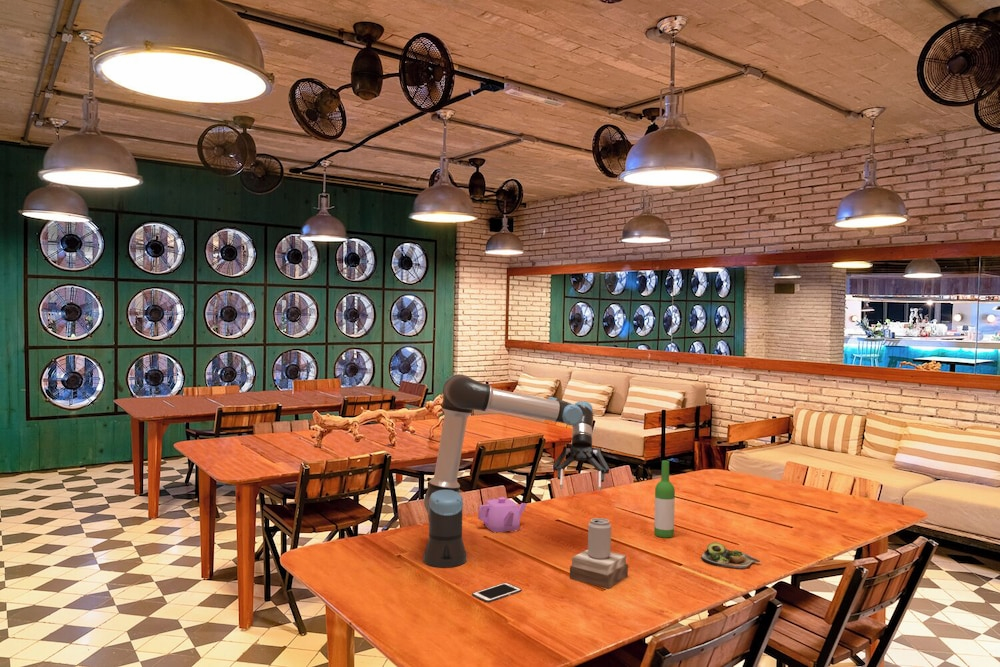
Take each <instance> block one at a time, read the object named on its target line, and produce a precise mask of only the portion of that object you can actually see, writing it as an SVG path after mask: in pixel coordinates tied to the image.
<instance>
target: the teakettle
mask: <svg viewBox="0 0 1000 667" xmlns="http://www.w3.org/2000/svg"><path fill="white" fill-rule="evenodd" d="M527 505H528V504H527V503H525V502H521V503H520V505H518V504H517V503H516V502H515V501H514V500H511V499H510V498H506V497H503V496H499V497H498V498H490V499H487V500H486V501H485V504H481V505H479V506H478V516H477V519H478V520H479V521H482V522H483V525H484V524H485V525H484V527H485V528H486V527H487V528H488V530H489V529H490V530H491V531H490V530H489V531H490V532H492V531H493V533H494V532H502V533H506V532H505V531H513V532H516V531H515V530H518V531H519V530H520V528H521V527H520V525H521V519H520V518H521V517H522V515H523V512H524V511H525V509H526V507H527ZM487 528H486V529H487Z"/></svg>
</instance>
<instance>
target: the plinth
mask: <svg viewBox="0 0 1000 667" xmlns="http://www.w3.org/2000/svg"><path fill="white" fill-rule="evenodd" d="M628 574H629V564H627V555H625V554H623V553H622V554H621V553H617V552H613V551H611V554H610V556H609V557H608V558H606V559H595V558H592V557H591V556H590V555H589V554H588V549H586V550H584V551H581V552H580V553H578V554H576V555H573V556H572V557H571V565H570V566H569V579H570V580H573V581H578V582H580V583H584V584H588V585H592V586H596V587H600V588H602V589H603V588H604V589H607V590H608V589H610V588H612V587H613V586H615V585H616V584H619V583H620V582H622V581H623V580H625V579H626V578H628V576H629V575H628Z"/></svg>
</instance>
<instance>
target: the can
mask: <svg viewBox="0 0 1000 667" xmlns="http://www.w3.org/2000/svg"><path fill="white" fill-rule="evenodd" d="M587 526H588V527H587V528H588V531H587V532H588V533H587V550H588V554H589V555H590V556H591V557H592V558H595V559H606V558H608V557H609V556H610V554H611V552H612V550H611V549H612V548H611V547H612V546H611V545H612V524H611V523H610V520H609V519H607V518H603V517H602V518H601V517H596V518H595V517H594V518H591V519H590V522H589V523H588V524H587Z"/></svg>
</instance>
